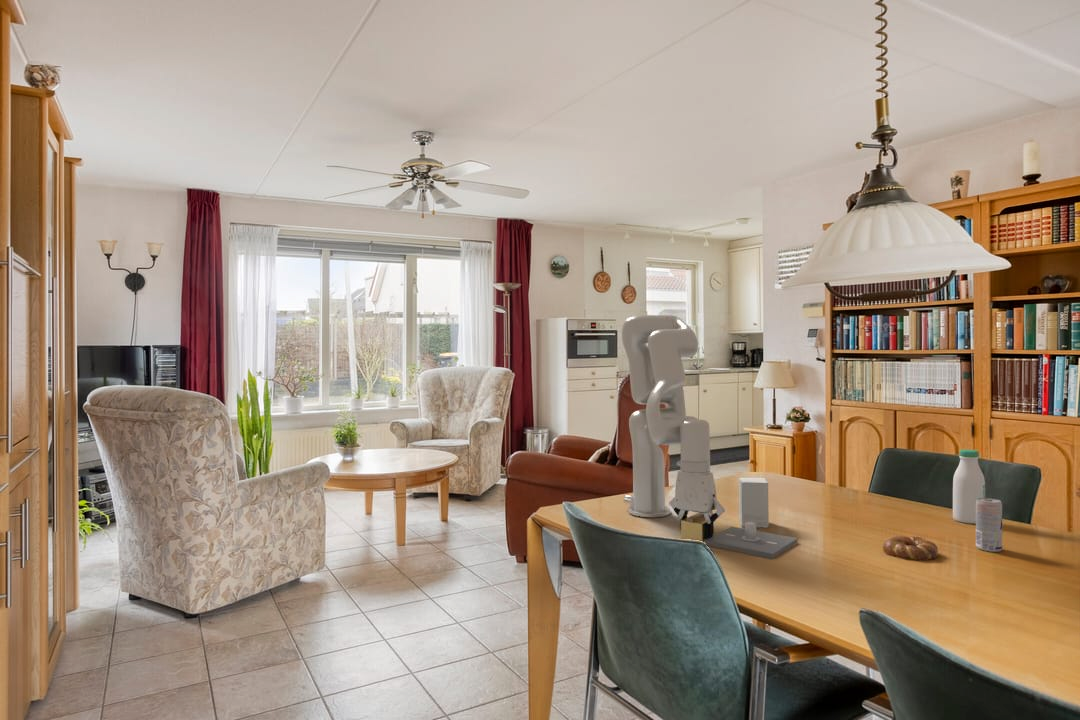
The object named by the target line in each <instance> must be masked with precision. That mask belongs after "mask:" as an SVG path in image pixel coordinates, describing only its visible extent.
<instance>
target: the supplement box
mask: <svg viewBox="0 0 1080 720" xmlns="http://www.w3.org/2000/svg"><path fill="white" fill-rule="evenodd" d="M738 505H739V506H738V507H739V508H738V511H739V512H738V514H739V515H738V517H739V518H738V519H739V523H740V526H741V528H745V523H746V522H753V523H756V528H760V527H761V528H762V527H763V528H764V529H765V528H766V529H768V528H769V526H770V524H769V522H770V521H769V520H770V519H769V516H770V515H769V513H770V512H769V482H768V481H767V480H766V478H765V477H739V478H738ZM763 528H762V529H763Z"/></svg>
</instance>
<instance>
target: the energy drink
mask: <svg viewBox="0 0 1080 720" xmlns="http://www.w3.org/2000/svg"><path fill="white" fill-rule="evenodd" d="M975 547H976V548H977V549H978V550H980V549H981V550H980V551H983V550H984V551H983V552H988V551H989V552H988V553H999V552H1002V551H1003V503H1002V501H1001V500H1000V499H996V498H991V497H985V498H977V501H976V524H975Z"/></svg>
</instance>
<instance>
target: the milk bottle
mask: <svg viewBox="0 0 1080 720" xmlns="http://www.w3.org/2000/svg"><path fill="white" fill-rule="evenodd" d="M958 453H959V454H958V455H959V459H960V460H959V464H958V466H957V468H956V470H955V472H954V474H953V479H952V519H953V520H954V521H957V522H960V523H963V524H974V525H976V501H977V498H986V480H985V479H986V478H985V476H984V473H983V472H982V470H981V468H980V465H979V460H978V459H979V458H980V457H979V456H980V454H979V451H978V450H977V449H966V448H965V449H964V448H963V449H959V452H958Z"/></svg>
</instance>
